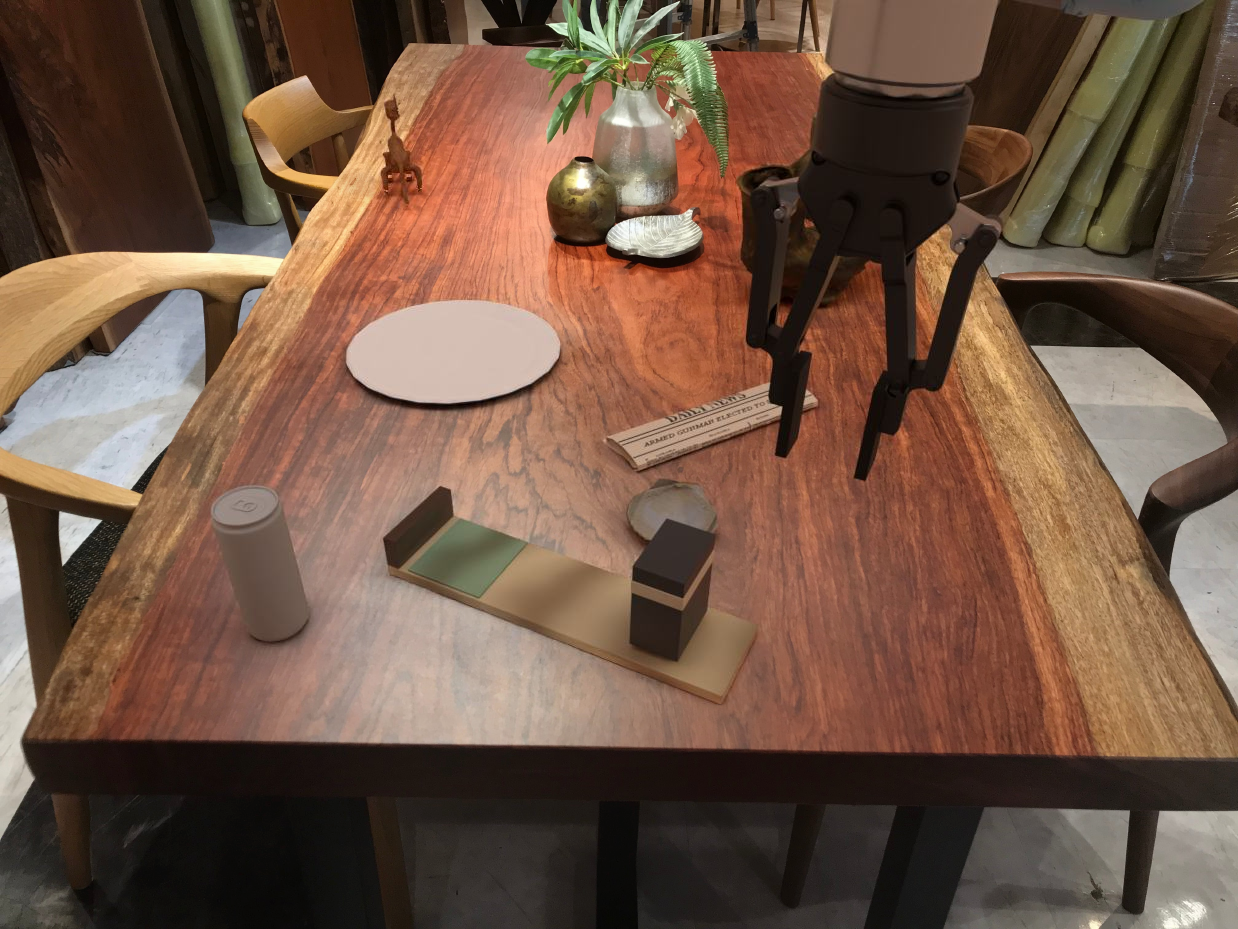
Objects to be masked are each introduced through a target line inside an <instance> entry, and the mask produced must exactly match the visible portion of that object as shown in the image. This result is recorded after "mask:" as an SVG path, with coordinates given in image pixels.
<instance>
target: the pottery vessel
mask: <svg viewBox="0 0 1238 929" xmlns="http://www.w3.org/2000/svg"><path fill="white" fill-rule="evenodd" d="M809 148H810V147H809ZM809 148H808V149H807V150H806V151H805V152H804V153H803V154H802V155H801V156H800V157H799V158H797V159H796V160H795V161H794V162H792V163H791V164H789V165H785V164H784V165H783V164H765V163H764V164H763V163H762V164H761V166H759V167H754V168H751V169H747V170H746V171H743V173H742V174H740V175H739V176H738V177H737V178H736V179H735V183H736V185H737V187H738V190H739V191H740V197H741V221H742V222H741V223H742V238H741V244H740V245H741V246H740V261H741V262H742V264H743V265H744V267H745V269H746V272H748V273H750V274H751V275H752V272H753V263H754V254H755V244H756V235H757V228H756V224H755V220H754V216H753V211H752V207H751V203H750V196H751V193H752V192H753V191H754V190H755V189H757V188H758V187H759V186H760V185H761V184H762V183H763V182H764V181H765V180H767V179H768V178H770V177H777V178H779V179H780V180H786V179H790V178H795V177H799V176H800V174H801V172H802V171H803V170H804V168H805V167H806V165H807V164H808V162H809V159H810V156H811V150H812V147H811V148H810V149H809ZM806 214H807V210H806V208H805V206H804V204H803V202H802V200H801V198H800V199H798V200H797V208H796V211H795V212H794V213H793V215H792V216H791V217H790V218H789V220H790V221H789V232H788V240H787V248H786V256H785V263H784V271H783V279H782V287H781V294H780V300H781V299H784V298H786V297H789V298H792V303H793V302H794V300H795V297H796V295H797V292H798V290H799V288H800V285H801V283H802V281H803V278H804V276H805V273H806V271H807V269H808V266H809V261H810V259H811V256H812V254H813V251H814V249H815V247H816V244H817V242H818V239H819V237H820V236H819V234H818V232H817V230H816V228H815V226H814V225H812V226H806V224H805V220H806V219H807V218H806ZM869 262H870V261H869V260H867V259H865V258H863V257H842V256H841V257H840V259H839V261H838V263H837V266H836V268H835V270H834V272H833V275H832V277H831V279H830V281H829V284H828V286H827V288H826V290H825V293H824V295H823V297H822V299H821V302H820V304H819V305H822V306H824V305H831V304H832V305H833V304H834V303H835V301H836V300H837V298H838V297H839V296H840V295H841V294H842V293H843V292H845V291H846V290H847V288H848V287H849V284H850V283H851V281H852V280H854V278H855V277H856V276H858V275H860V274H861V273H862V272H863V271H864V270H866V267H865V264H867V263H869Z"/></svg>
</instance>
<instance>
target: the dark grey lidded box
mask: <svg viewBox="0 0 1238 929" xmlns="http://www.w3.org/2000/svg"><path fill="white" fill-rule="evenodd" d="M716 537H717V534H716V533H715V532H714V533H711V532H707V531H704V530H701V529H698V528H695V527H692V526H689V525H686V524H683V523H680V522H677V521H674V520H671V519H668V518H667V519H666V520H665V521H664V523H663V524H662V525H661V527H660V528H659V530H658V531H657V532H656V534H655V535H654V537H653V538H652V539H651V541H648V543H647V545H646V547H645V548H644V549H643V550H642V552H641V553H640V554H639V556H638V557H637V559H636V561H635V562H633V565H632V569H631V570H632V571H631V579H632V580H631V615H630V638H629V644H631V645H634V646H637V647H639V648H642V649H644V650H647V651H650V652H652V653H655V654H657V655H660V656H663V657H665V658H668V659H670V660H673V661H676V662H678V660H679V658H680V657H681V655H682V653H683V652H684V650H685V648H686V646H687V645H688V643H689V641H690V639H691V638H692V636H693V634H694V633H695V631H696V629H697V627H698V626H699V624H700V622H701V620H702V619H703V617H704V615H705V613H706V612H707V607H709V606H708V605H709V596H710V590H711V579H712V571H713V563H714V559H715V550H716V548H715V546H716V545H715V543H716Z"/></svg>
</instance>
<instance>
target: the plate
mask: <svg viewBox="0 0 1238 929" xmlns="http://www.w3.org/2000/svg"><path fill="white" fill-rule="evenodd" d="M561 346H562V343H561V341H560V337H559V335H558V333H557V331H556V330H555V329H554V327H553V326H551V325H550V324H549V322H547V320H545V319H543V318H542V317H540V316H539V315H536V314H535V313H533V312H531V311H529V310H527V309H524V308H520V307H517V306H514V305H511V304H508V303H501V302H496V301H495V302H494V301H489V300H477V299H451V300H439V301H438V300H437V301H430V302H426V303H421V304H416V305H411V306H407V307H404V308H401V309H397V310H396V311H392V312H390V313H386V314H385V315H383V316H381V317H379V318H377V319H375V320H373V321H371V322H370V323H368V324H367V325H366V326H364V328H362V329H361V330H360V331H358V332H357V334H355V335H354V336H353V337H352V340H351V341H350V343H349V345H348V347H347V348H346V351H345V352H346V355H345V357H346V358H345V360H346V361H345V363H346V367H347V369H348V370H349V372H350V374H351V375H352V377H353V379H355V381H357V382H358V383H360V385H362V386H364V387H365V388H367V389H368V390H369V391H371V392H374V393H376V394H380V395H382V396H384V397H387V398H390V399H392V400H397V401H403V402H408V403H412V404H419V405H439V406H441V405H442V406H453V405H462V404H463V405H464V404H472V403H482V402H485V401H488V400H493V399H496V398H497V399H498V398H501V397H505V396H509V395H511V394H513V393H516V392H518V391H520V390H522V389H524V388H527V387H529V386H531V385H533V384H534V383H536V382H537V381H539V380H540V379H541V378H543V377H544V376H545V375H547V374H548V373H550V371H551V370H552V368H553V367H554V365H555V364H556V363H557V361H558V360H559V357H560V351H561Z"/></svg>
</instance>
